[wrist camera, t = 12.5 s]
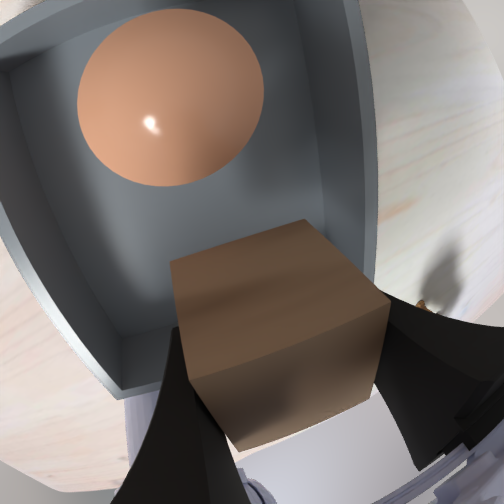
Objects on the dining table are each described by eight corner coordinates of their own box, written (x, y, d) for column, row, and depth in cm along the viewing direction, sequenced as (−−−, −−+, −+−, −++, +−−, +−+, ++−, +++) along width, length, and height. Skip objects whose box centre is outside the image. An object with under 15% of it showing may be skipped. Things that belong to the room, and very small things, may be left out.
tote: (333, 271, 22) (370, 312, 18) (117, 343, 19) (117, 400, 15) (297, -16, 11) (347, -42, 7) (-1, 67, 9) (-51, 64, 5)
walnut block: (312, 315, 14) (369, 398, 9) (208, 352, 13) (238, 452, 9) (304, 218, 11) (390, 301, 7) (169, 261, 10) (188, 380, 6)
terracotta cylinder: (229, 124, 14) (284, 147, 8) (136, 162, 14) (122, 215, 8) (197, 35, 11) (233, -11, 6) (99, 74, 11) (53, 58, 5)
